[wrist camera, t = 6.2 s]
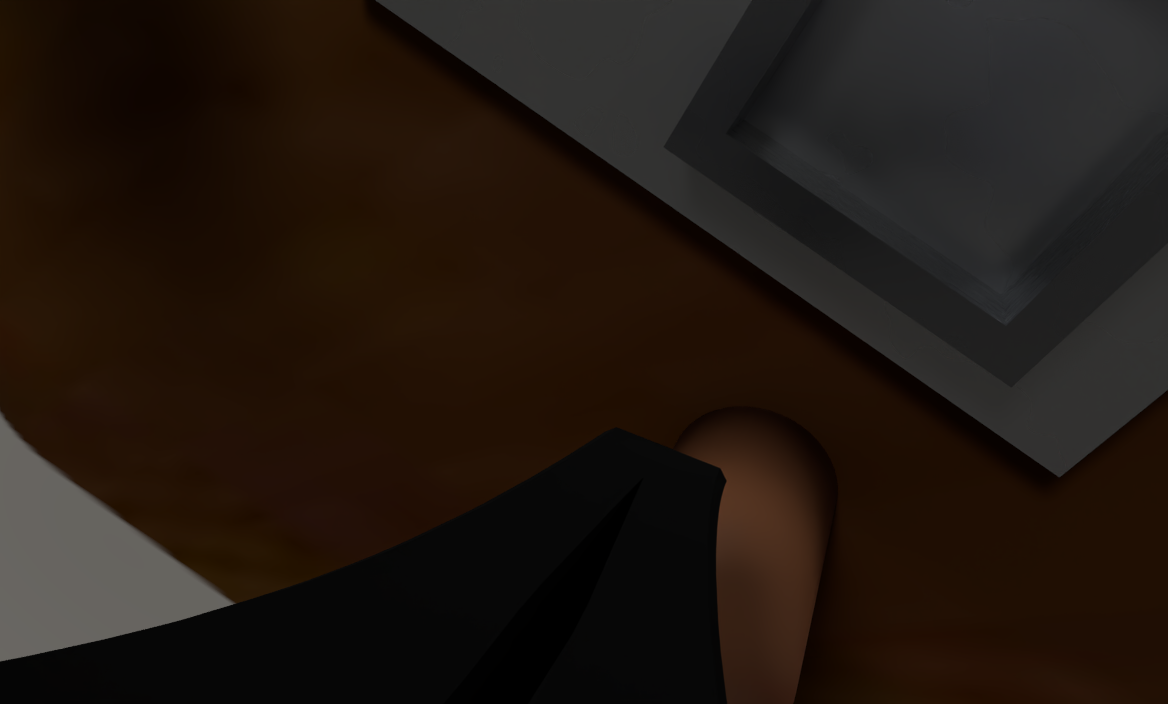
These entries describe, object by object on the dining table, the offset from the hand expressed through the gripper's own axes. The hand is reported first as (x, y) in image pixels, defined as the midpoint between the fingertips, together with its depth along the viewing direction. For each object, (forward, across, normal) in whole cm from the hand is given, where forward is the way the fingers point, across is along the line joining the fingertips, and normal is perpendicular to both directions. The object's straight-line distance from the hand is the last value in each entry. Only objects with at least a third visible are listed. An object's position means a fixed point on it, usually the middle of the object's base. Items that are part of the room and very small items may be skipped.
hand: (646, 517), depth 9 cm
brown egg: (+10, -1, +6) cm, 11 cm away
